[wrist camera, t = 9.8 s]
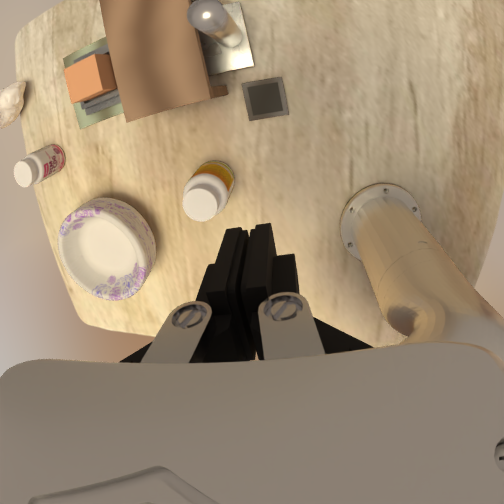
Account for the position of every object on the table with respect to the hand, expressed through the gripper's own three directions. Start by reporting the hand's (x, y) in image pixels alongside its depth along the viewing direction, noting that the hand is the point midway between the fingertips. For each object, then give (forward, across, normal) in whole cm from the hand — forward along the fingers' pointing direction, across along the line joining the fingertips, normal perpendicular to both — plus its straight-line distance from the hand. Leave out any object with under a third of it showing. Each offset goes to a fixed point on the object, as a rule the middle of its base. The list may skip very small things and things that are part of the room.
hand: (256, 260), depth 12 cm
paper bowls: (+31, +26, +11) cm, 42 cm away
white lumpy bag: (+31, +40, -17) cm, 53 cm away
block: (+30, +21, -14) cm, 39 cm away
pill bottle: (+31, +34, -5) cm, 46 cm away
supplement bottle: (+31, +9, +5) cm, 33 cm away
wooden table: (+31, +12, -13) cm, 36 cm away
